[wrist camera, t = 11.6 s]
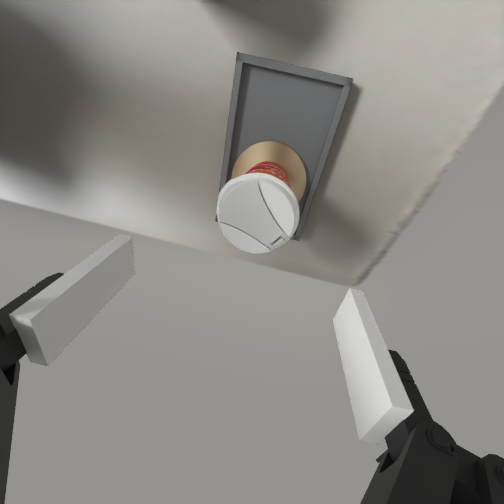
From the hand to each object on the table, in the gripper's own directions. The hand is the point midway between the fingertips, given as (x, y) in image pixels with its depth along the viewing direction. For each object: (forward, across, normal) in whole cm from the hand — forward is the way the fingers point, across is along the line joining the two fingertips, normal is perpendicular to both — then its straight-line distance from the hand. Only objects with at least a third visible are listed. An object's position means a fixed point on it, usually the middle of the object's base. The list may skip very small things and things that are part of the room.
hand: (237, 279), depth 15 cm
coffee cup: (+25, 0, 0) cm, 25 cm away
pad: (+25, 0, 0) cm, 25 cm away
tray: (+26, 0, +3) cm, 26 cm away
